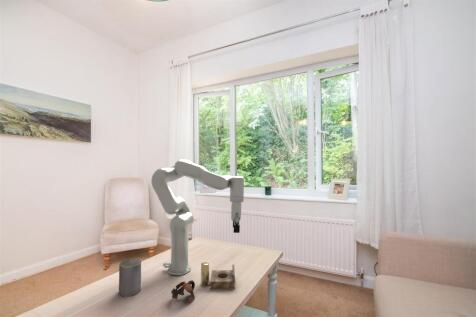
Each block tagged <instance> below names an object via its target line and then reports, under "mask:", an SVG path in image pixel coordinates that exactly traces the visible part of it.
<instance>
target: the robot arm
mask: <svg viewBox="0 0 476 317" xmlns="http://www.w3.org/2000/svg"><path fill="white" fill-rule="evenodd" d="M183 177H186V178H190V179H192V180H194V181H196V182H199V183H201V184H203V185H204V186H207V187H210V188H213V189H215V190H218V191H224V190H225V189H229V202H231V206H230V207H231V208H230V209H231V210H230V211H231V213H230V219H231V221H232V228H233V234H240V230H241V225H240V221H241V217H242V203H243V202H244V199H245V198H244V197H245V196H244V195H245V194H244V193H245V190H244V189H245V178H244V177H243V176H241V175H233V176H232V175H226V174H225V175H219V174H216V173H214V172H211V171H209V170H208V169H206V168H205V167H204V166H203V165H199V164H196V163H194V162H192V161H191V160H190V159H179V160H177V161H176V162H175V163H174V165H173V166H171V167H160V168H158V169H156V170H155V171H154V173H152V177H151V182H150V183H151V186H152V189H153V190H154V192H155V194H156V196H157V198H158V200H159V202H160V205H161V206H162V208H163V210H164V212H165V213H166V214H168V215H170V216H171V215H175V216H173V217H172V219H171V220H170V223H169V230H170V262H163V263H162V266H163V267H164V268H165V269H167V273H168V274H169V275H171V276H183V275H186V274H189V272H191V269H192V266H190V264H189V233H188V228H190V227H191V226H192V225H193V224H194V220H195V219H194V215H193V213H192V210H191V209H190V207H189V205H188V203H187V201H186V200H185V199H184V198H183V197H182V196H180V195H175V194H174V192H173V190H172V188H171V187H170V186H169V185H168V183H169V182H174V181H176V180H180V179H181V178H183Z"/></svg>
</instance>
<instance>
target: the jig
mask: <svg viewBox="0 0 476 317" xmlns="http://www.w3.org/2000/svg"><path fill="white" fill-rule="evenodd" d="M235 270H236V269H235V264H232V266H231V269H229V270H228V269H227V270H225V269H221V270H220V269H218V270H217V269H216V270H211V275H210V279H209V289H210V290H221V289H223V290H225V289H226V290H227V289H230V290H231V289H232V290H233V289H235V288H236V287H235V284H236V282H235V281H236V280H235V278H236V274H235V272H236V271H235Z"/></svg>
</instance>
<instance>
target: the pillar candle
mask: <svg viewBox="0 0 476 317" xmlns="http://www.w3.org/2000/svg"><path fill="white" fill-rule="evenodd" d="M118 267H119V268H118V295H119V296H120V297H122V298H123V297H124V298H125V297H127V298H128V297H131V296H135V295H137V294H138V293H139V292H141V289H142V259H140V258H127V259H124V260H122V261H120V263H119V265H118Z"/></svg>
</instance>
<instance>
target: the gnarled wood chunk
mask: <svg viewBox="0 0 476 317" xmlns="http://www.w3.org/2000/svg"><path fill="white" fill-rule="evenodd" d="M195 287H196V283H195V281H194V280H193V279H191V280H189V281H188V282H186V281H185V280H184V281H181V282H179V283H177V285H176V286H175V288H173V289H171V291H170V292H171V298H172V299H176V300H178V296H182V297H183V296H185V293H184V292H185V291H186V292H187V294H190V296H189V297H188V301H189V304H191V303H193V302H194V300H195V296H196V295H195V292H194V289H195Z"/></svg>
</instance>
